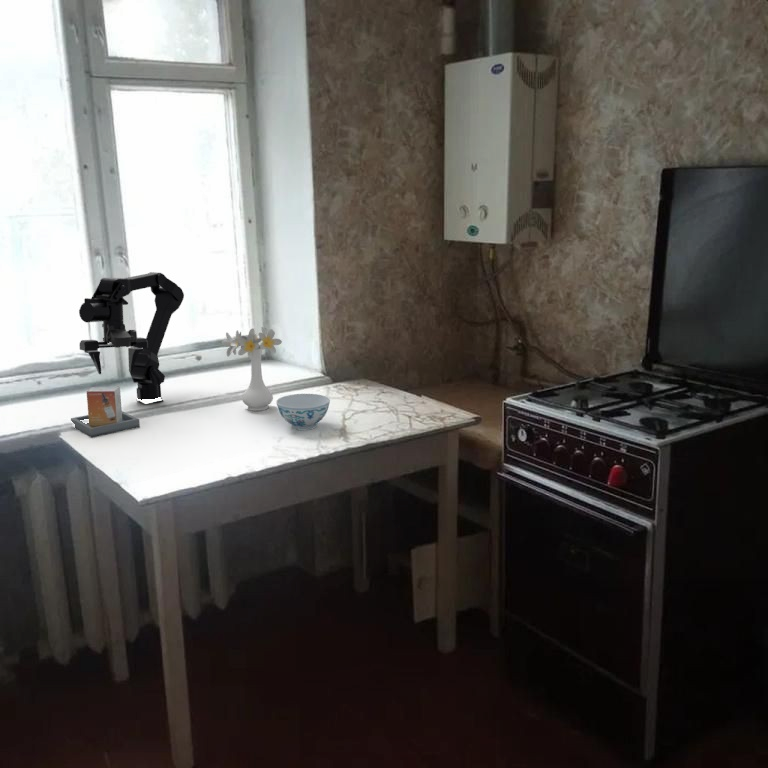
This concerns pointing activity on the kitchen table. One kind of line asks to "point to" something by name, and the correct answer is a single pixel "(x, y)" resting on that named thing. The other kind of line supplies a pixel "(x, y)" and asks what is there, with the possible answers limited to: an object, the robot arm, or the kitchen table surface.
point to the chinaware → (303, 409)
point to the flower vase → (254, 364)
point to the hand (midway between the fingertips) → (115, 373)
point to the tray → (126, 424)
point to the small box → (104, 406)
